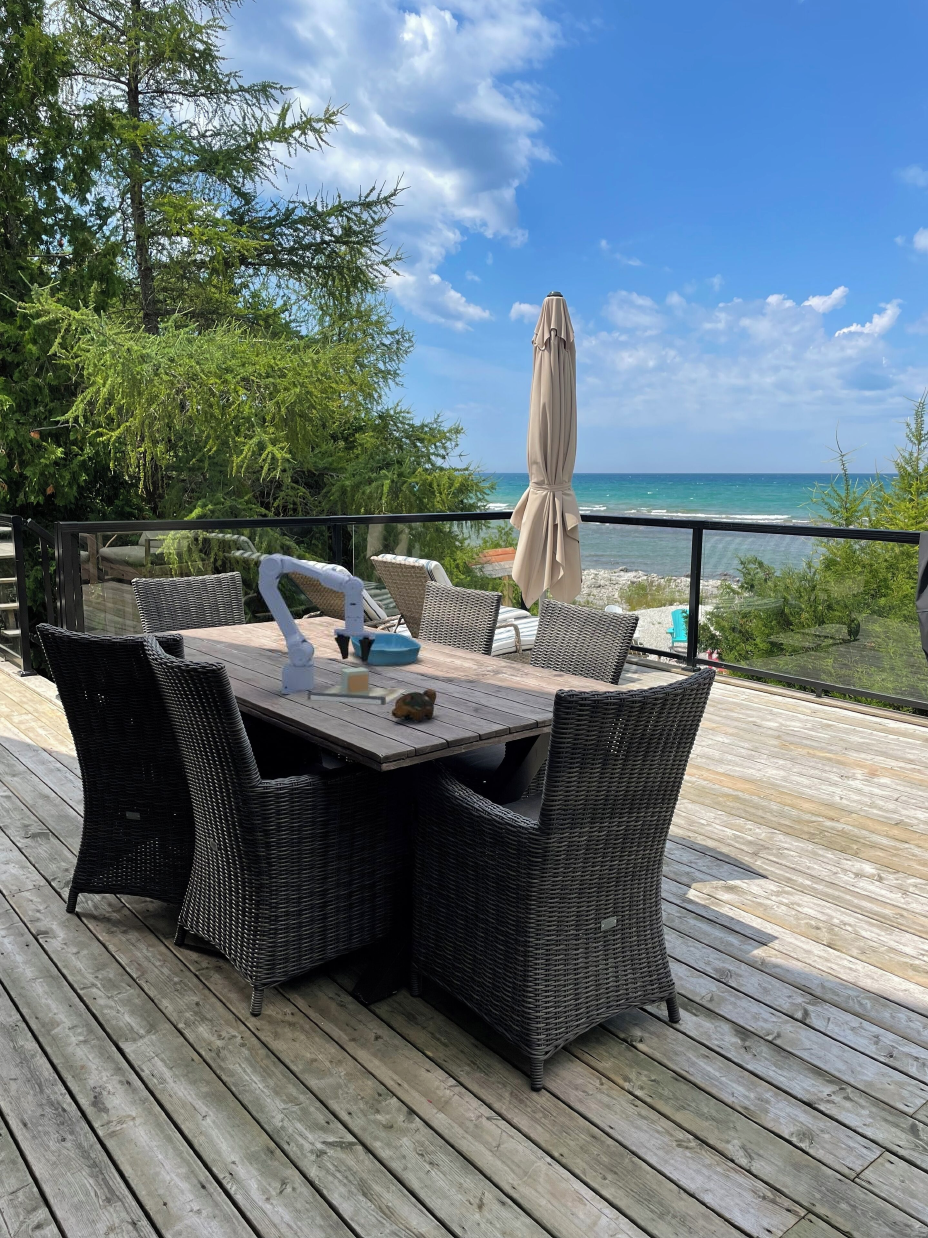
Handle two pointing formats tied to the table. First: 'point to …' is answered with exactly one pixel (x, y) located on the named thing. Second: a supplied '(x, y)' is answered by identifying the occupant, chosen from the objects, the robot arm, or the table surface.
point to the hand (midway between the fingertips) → (354, 660)
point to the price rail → (347, 698)
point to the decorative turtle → (415, 705)
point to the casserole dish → (390, 649)
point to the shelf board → (371, 692)
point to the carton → (355, 681)
